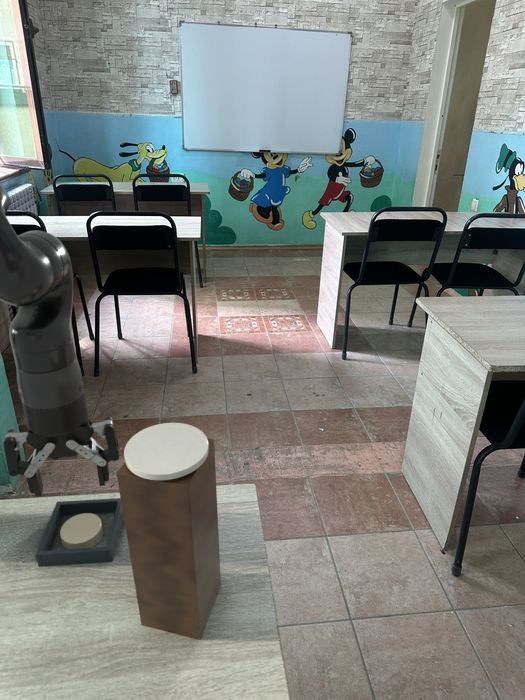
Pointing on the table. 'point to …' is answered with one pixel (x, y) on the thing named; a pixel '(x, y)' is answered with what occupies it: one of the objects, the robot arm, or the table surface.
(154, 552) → the riser box
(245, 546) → the table surface
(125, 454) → the bottom plate
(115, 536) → the bin
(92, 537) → the top plate
